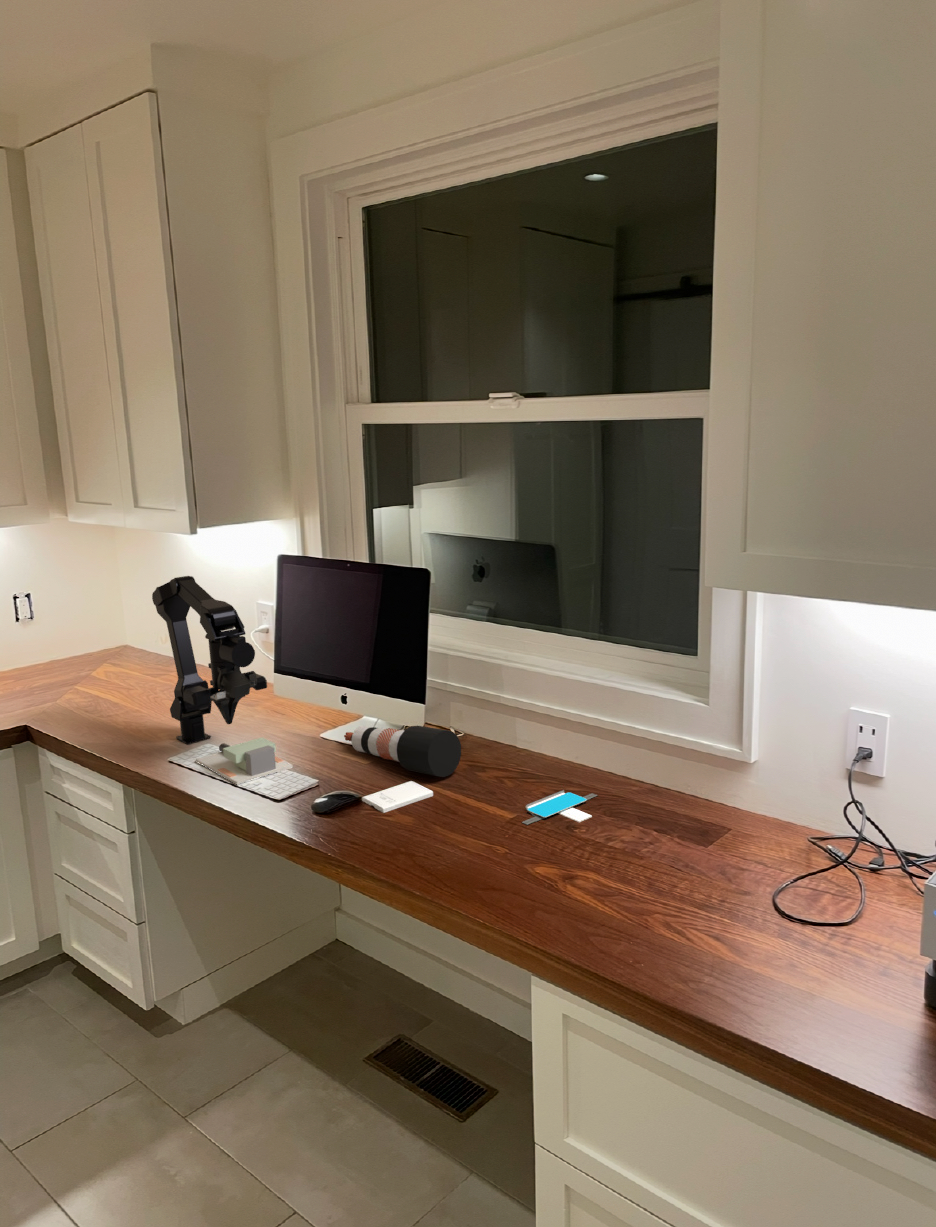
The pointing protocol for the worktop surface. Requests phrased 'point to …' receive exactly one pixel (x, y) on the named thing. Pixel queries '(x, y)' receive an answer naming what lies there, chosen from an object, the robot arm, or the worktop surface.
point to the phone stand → (558, 807)
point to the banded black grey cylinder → (411, 747)
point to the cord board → (235, 769)
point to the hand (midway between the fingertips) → (229, 723)
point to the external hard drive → (397, 796)
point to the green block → (245, 750)
